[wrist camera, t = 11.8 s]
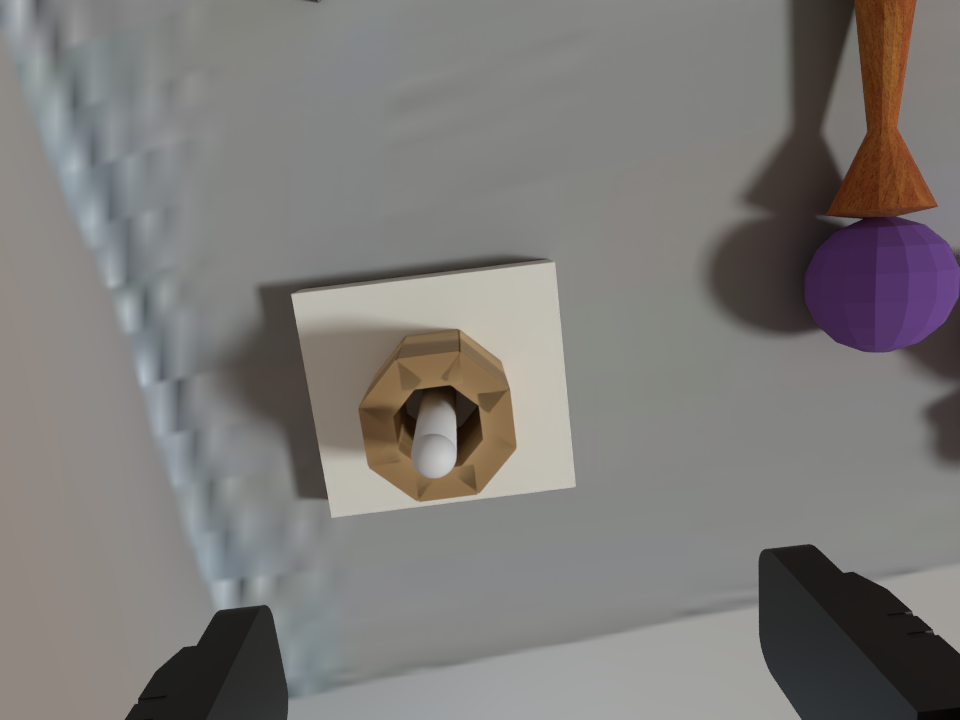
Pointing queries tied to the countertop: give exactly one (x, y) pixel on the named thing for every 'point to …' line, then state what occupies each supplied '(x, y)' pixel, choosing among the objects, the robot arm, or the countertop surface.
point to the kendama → (882, 214)
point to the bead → (478, 439)
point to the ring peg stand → (438, 410)
